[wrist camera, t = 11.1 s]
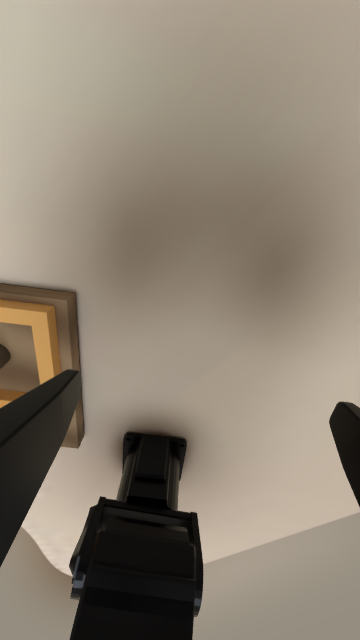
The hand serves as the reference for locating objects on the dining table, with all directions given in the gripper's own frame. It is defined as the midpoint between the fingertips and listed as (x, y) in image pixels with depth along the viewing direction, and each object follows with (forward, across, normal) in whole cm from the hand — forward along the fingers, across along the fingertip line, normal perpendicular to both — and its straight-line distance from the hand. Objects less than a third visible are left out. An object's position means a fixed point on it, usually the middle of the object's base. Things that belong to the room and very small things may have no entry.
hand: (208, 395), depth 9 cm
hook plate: (+12, +16, +10) cm, 22 cm away
